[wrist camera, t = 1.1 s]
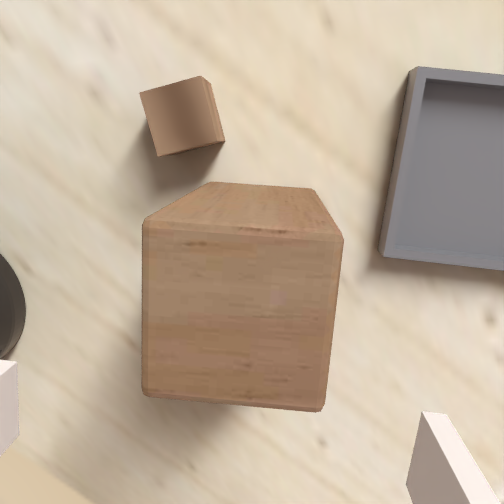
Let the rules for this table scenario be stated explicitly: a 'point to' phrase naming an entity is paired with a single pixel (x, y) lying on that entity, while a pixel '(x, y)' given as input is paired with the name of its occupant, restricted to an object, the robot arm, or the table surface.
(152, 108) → the walnut cube
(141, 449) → the table surface
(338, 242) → the wooden block
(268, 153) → the table surface
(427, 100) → the tray
